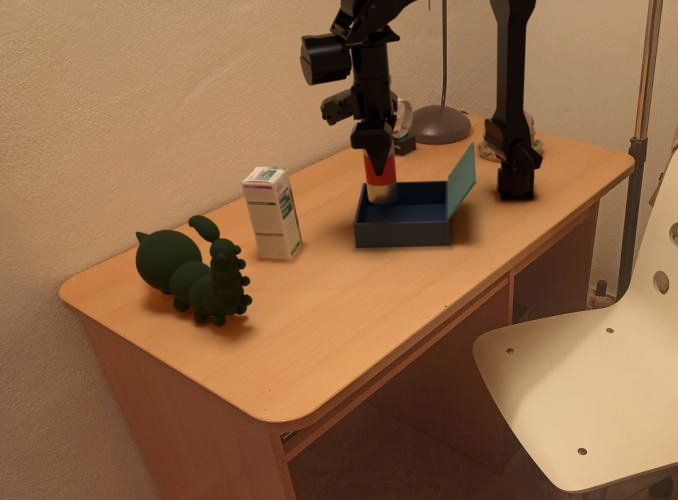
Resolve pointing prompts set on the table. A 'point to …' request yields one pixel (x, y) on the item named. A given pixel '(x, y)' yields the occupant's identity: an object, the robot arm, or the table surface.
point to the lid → (461, 180)
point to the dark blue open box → (404, 217)
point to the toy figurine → (195, 271)
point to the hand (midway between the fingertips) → (380, 168)
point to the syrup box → (272, 212)
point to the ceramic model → (490, 155)
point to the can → (381, 180)
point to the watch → (404, 130)
